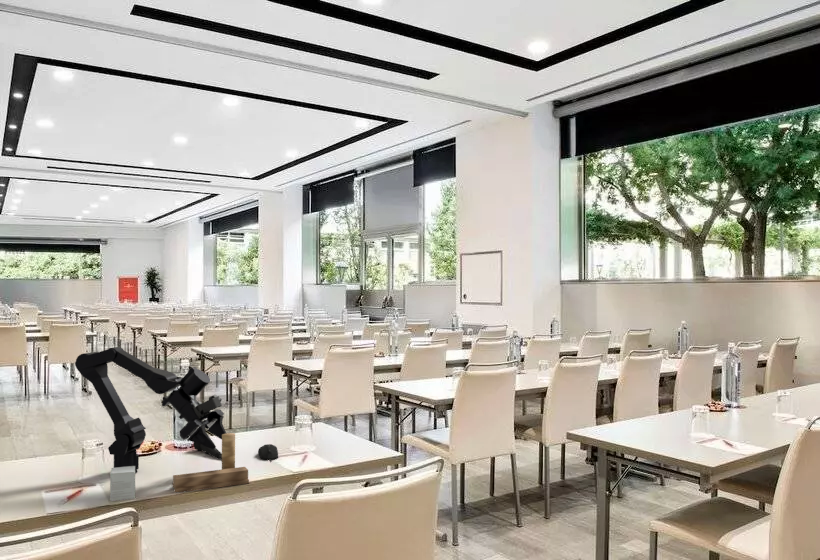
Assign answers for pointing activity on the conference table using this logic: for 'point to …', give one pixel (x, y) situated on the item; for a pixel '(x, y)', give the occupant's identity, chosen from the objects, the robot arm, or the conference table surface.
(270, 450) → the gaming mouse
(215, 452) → the microphone
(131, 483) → the product box
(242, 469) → the ridge
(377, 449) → the conference table surface
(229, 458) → the dowel
